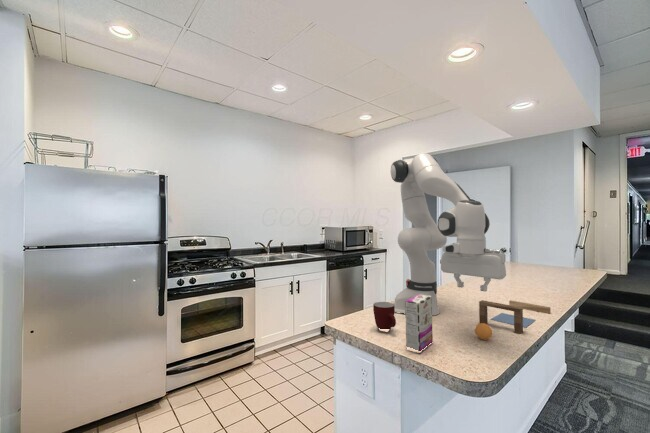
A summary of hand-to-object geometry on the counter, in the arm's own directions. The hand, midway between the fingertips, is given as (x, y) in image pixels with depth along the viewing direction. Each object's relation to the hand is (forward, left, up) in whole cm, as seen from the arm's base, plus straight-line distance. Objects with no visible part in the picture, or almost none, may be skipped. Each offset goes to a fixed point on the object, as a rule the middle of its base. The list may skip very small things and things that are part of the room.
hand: (471, 289), depth 101 cm
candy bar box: (-17, -6, -19) cm, 26 cm away
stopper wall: (+29, +53, -19) cm, 64 cm away
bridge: (+12, +22, -19) cm, 31 cm away
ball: (+4, +8, -16) cm, 19 cm away
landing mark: (+19, +34, -19) cm, 43 cm away
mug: (-29, +4, -19) cm, 35 cm away
